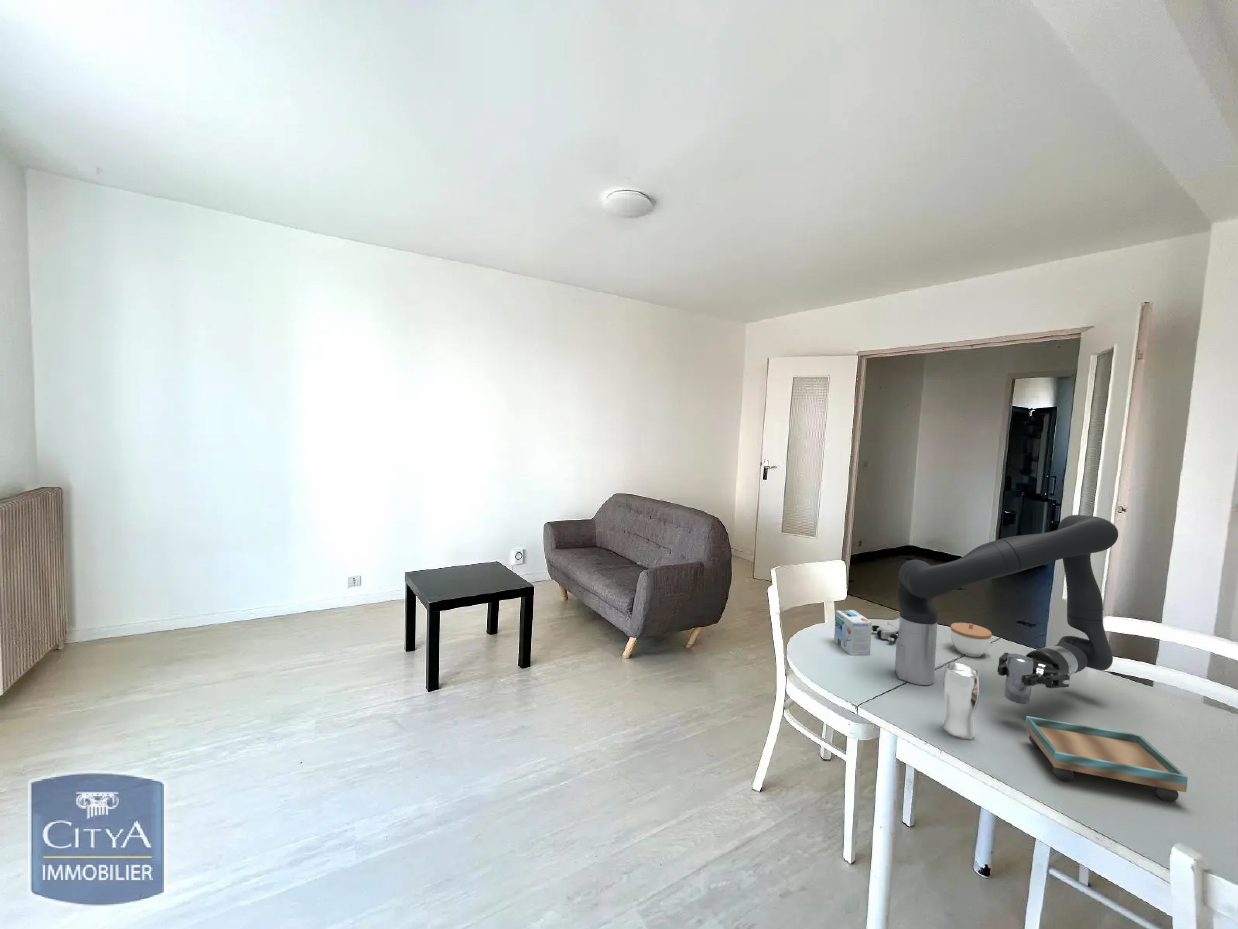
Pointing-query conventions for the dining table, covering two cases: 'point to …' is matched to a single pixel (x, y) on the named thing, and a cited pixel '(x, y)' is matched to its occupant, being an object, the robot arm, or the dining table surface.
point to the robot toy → (888, 630)
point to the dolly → (1105, 755)
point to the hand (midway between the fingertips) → (1012, 676)
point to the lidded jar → (970, 639)
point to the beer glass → (961, 699)
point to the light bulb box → (853, 632)
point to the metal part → (1018, 678)
